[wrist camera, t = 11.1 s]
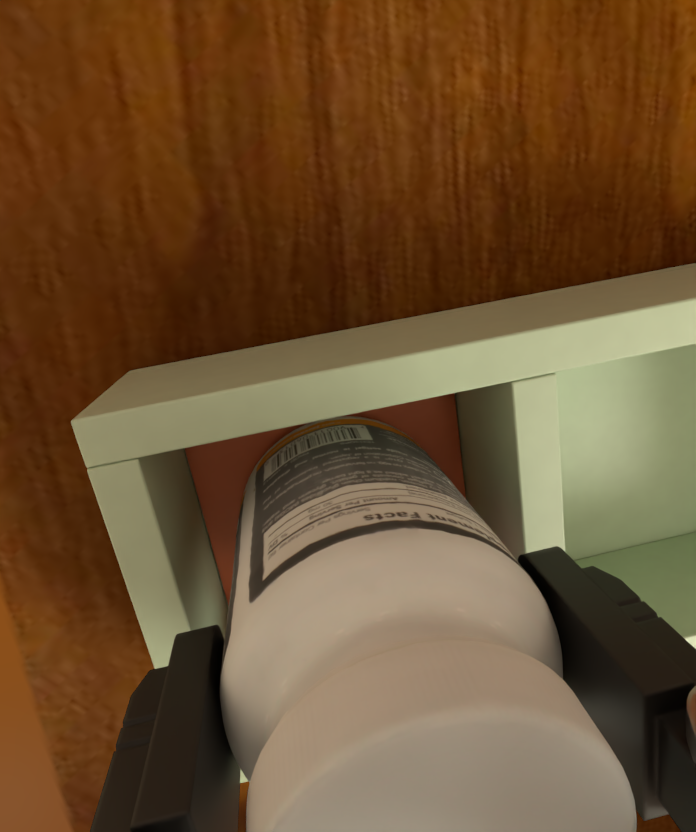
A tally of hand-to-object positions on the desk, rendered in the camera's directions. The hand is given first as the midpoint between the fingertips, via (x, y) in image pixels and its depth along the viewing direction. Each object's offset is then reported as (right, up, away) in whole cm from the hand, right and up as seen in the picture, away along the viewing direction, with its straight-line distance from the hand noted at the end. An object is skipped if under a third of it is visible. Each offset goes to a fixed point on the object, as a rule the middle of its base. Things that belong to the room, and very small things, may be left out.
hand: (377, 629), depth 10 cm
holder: (+3, +3, +6) cm, 8 cm away
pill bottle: (-1, +2, +5) cm, 6 cm away
